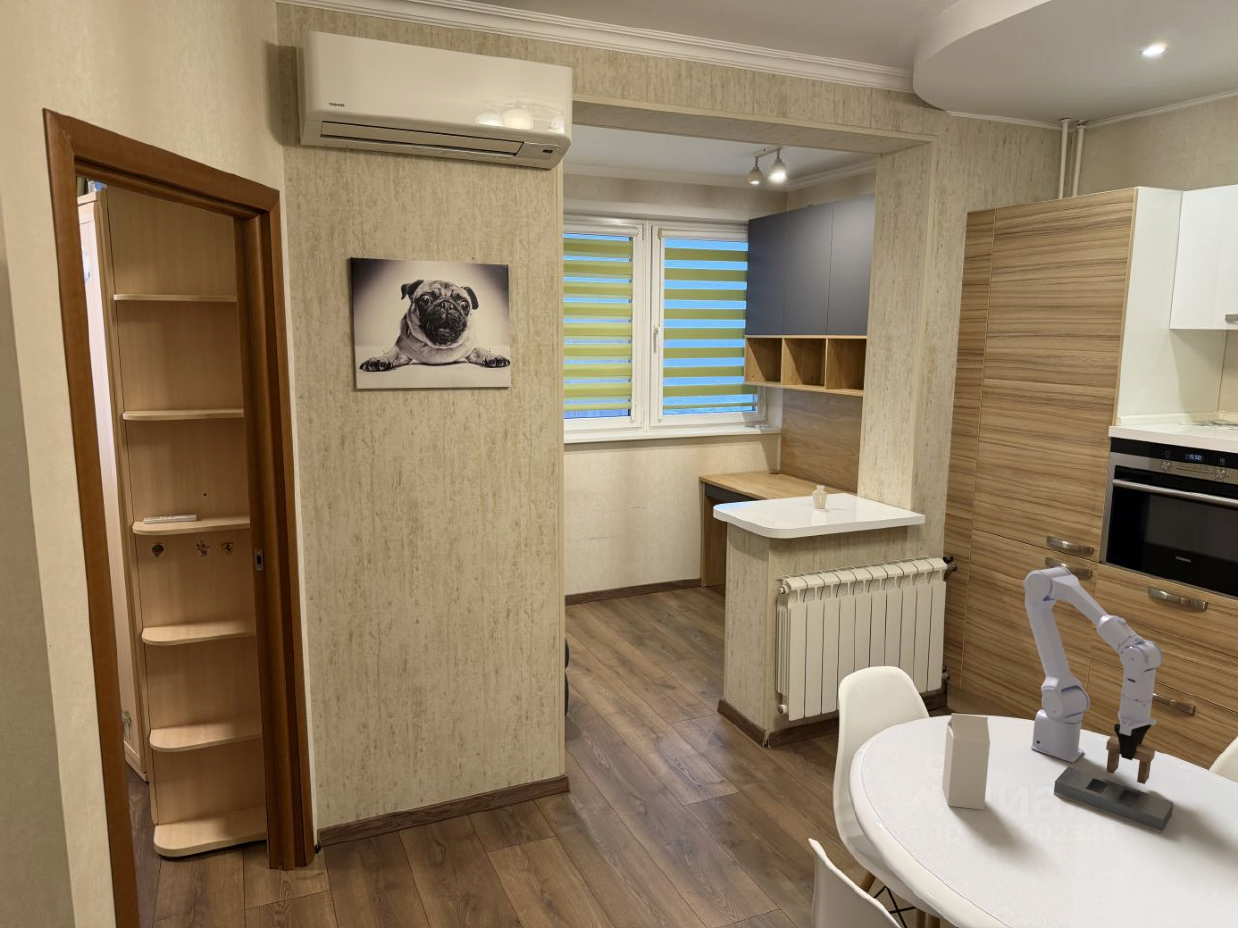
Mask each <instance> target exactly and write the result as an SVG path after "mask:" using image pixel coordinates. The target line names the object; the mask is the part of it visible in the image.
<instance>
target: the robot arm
mask: <svg viewBox="0 0 1238 928" xmlns="http://www.w3.org/2000/svg"><path fill="white" fill-rule="evenodd" d="M1022 585H1023V588H1024V590H1025V596H1024V607H1025V610H1026V614H1027V617H1028V621H1029V625H1030V628H1031V631H1032V635H1033V637H1034V641H1035V645H1036V648H1037V651H1038V656H1039V659H1040V661H1041V662H1040V663H1041V665H1042V667H1043V672H1044V675H1045V676H1044V677H1045V680H1044V681H1043V683H1042V684H1041V687H1040V691H1041V695H1042V697H1041V706H1042V709H1039V710H1038V711H1037V713H1036V715H1035V719H1034V724H1033V725H1034V726H1033V736H1032V745H1031V747H1030V749H1031V750H1033V751H1037V752H1040V753H1043V754H1046V755H1048V756H1051V757H1055V758H1057V759H1060V760H1064V761H1067V762H1070V763H1076V761H1077V760H1078V759H1079V758H1080V757H1081V755H1083V753H1084V751H1085V750H1084V749H1082V748H1079V745H1080V737H1081V730H1082V729H1081V728H1082V719H1083V716H1084V713H1086V712H1087V711H1089V708H1090V707H1091V700H1090V697H1089V695H1088V693H1087V692H1086V690H1085V689H1084V688H1083V684H1082V682H1081V680H1080V679H1078V678H1077V677H1076V676H1075V675H1074V674H1072V672H1071V669H1070V666H1069V662H1068V659H1067V655H1066V653H1065V649H1064V645H1063V642H1062V639H1061V635H1060V633H1059V629H1058V625H1057V622H1056V619H1055V616H1054V613H1053V610H1052V609H1053V607H1054V606H1055V604H1056V603H1057V602H1058V600H1060V601H1066V602H1069V603H1070V604H1071V605H1072V606H1073V607H1075V608H1076V609H1077V610H1078V611H1080V612H1081V614H1083V615H1084V616H1085V617H1087V618H1088V619H1089V620H1090V621H1091V622H1092V623H1093V624H1094V625H1096V634H1098V635H1099V636H1100V637H1101V638H1102V639H1103V640H1104V641H1105V642H1106V644H1108V645H1109V646H1110V648H1112V649H1113V650H1114V651H1115V652H1116V653H1117V654H1118V655H1119V661H1120V663H1121V664H1122V667H1123V672H1122V673H1123V678H1122V687H1121V695H1120V704H1119V710H1118V712H1117V717H1118V719H1119V723H1120V724H1119V723H1118V722H1117V723H1115V724H1114V725H1113V729H1114V733H1115V735H1116V737H1118V740H1119V746H1120V753H1121V754H1120V757H1121V758H1123V759H1125V760H1128V761H1133V760H1134V759H1133V758H1134V755H1135V753H1136V749H1137V746H1138V744H1141V745H1143V741H1144V738H1145V736H1146V734H1147V732H1148V730H1149V729H1150V728H1152V726H1156V725H1157V720H1156V719H1154V718H1151V713H1152V703H1153V697H1154V690H1155V688H1154V687H1155V682H1156V681H1155V680H1156V672H1157V669H1156V668H1157V667H1160V666H1161V665H1162V663H1163V661H1164V654H1163V652H1162V650H1161V648H1160V647H1159V646H1158V644H1157V643H1156V642H1154V641H1151V640H1147V639H1145V638H1143V637H1142V636H1141V635H1139V634H1138V633H1137V632H1135V631H1134V630H1133V628H1131V627H1130V626H1129V625H1128V624H1127V620H1125V618H1123V617H1120V616H1118V615H1110V614H1108V612H1106V610H1105V609H1103V608H1102V606H1101V605H1100V604H1099V603H1098V602H1097V601H1096V600H1095V599H1094V598H1093V597H1092V596H1091V595H1090V594H1089V593H1088V591H1086V589H1085V588H1083V586H1081V584H1080V581H1079V578H1078V577H1077V576H1076V575H1074V574H1073V573H1072V572H1071V571H1070V570H1069V569H1068V568H1066V567H1064V566H1055V567H1053V568H1052V567H1051V568H1046V569H1038V570H1037V569H1035V570H1031V571H1030V572H1028V574H1027V576H1026V577H1025V578H1024V580H1023V581H1022Z"/></svg>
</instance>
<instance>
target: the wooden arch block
mask: <svg viewBox="0 0 1238 928" xmlns="http://www.w3.org/2000/svg"><path fill="white" fill-rule="evenodd" d="M1105 750H1106V751H1107V752H1108V753H1107V760H1106V761H1107V763H1106V769H1105V770H1106V771H1105V772H1107V773H1110V774H1114V773H1115V772H1117V769H1118V768H1119V765H1120V764H1119V763H1120V757H1121V753H1120V746H1119V740H1118V737H1117V736H1115V735H1111V736H1110V737H1109V738H1108V739H1107V741H1106V746H1105ZM1155 753H1156V748H1153V747H1150V746H1147V745H1146V744H1138V746H1137V749H1136V753H1135V755H1134V758H1133V759H1132V760H1137V761H1139V763H1138V771H1137V778H1136V782H1137V783H1139V784H1142V785H1145V784H1146V783H1147V781H1148V780H1149V778H1150V772H1151V763H1152V761H1153V760H1154V758H1155V755H1156V754H1155Z"/></svg>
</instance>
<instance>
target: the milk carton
mask: <svg viewBox="0 0 1238 928" xmlns="http://www.w3.org/2000/svg"><path fill="white" fill-rule="evenodd" d="M950 716H951V718H950V719H949V720H948V722H947V725H946V736H945V746H944V747H945V748H944V759H943V760H944V761H943V771H942V772H943V774H942V785H941V788H942V791H943V795H944V797H945V800H946V804H947V806H950V807H958V808H965V809H972V810H973V809H974V810H985V803H986V802H985V801H986V791H987V780H988V768H989V758H990V757H989V755H990V746H991V740H990V732H989V725H988V723H989V722H988V720H989V719H988V716H982V715H972V714H962V713H954V712H953V713H951V715H950Z"/></svg>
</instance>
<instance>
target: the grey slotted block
mask: <svg viewBox="0 0 1238 928" xmlns="http://www.w3.org/2000/svg"><path fill="white" fill-rule="evenodd" d="M1053 795H1055V796H1058V797H1061V798H1063V799H1066V800H1069V801H1071V802H1074V803H1077V804H1080V805H1083V806H1085V807H1088V808H1091V809H1094V810H1096V811H1099V812H1102V813H1104V814H1107V815H1110V816H1111V817H1112V816H1113V817H1116V818H1118V819H1120V820H1124V821H1126V822H1129V823H1132V824H1134V825H1138V826H1139V827H1143V828H1146V829H1149V830H1152V831H1153V832H1154V831H1155V832H1157V833H1160V834H1163V832H1164V831H1165V828H1166V827H1167V825H1168V824H1169V822H1170V820H1171V818H1172V817H1173V811H1174V809H1173V808H1174V804H1175V802H1174V801H1171V800H1168V799H1166V798H1163V797H1160V796H1156V795H1155V794H1154V795H1153V794H1150V793H1147V792H1144V791H1142V790H1139V789H1136V788H1132V787H1129V786H1126V785H1125V784H1121V783H1119V782H1115V781H1113V780H1111V779H1110V780H1109V779H1107V778H1103V777H1100V776H1098V775H1095V774H1092V773H1090V772H1089V773H1088V772H1085V771H1082V770H1080V769H1077V768H1074V767H1071V766H1067V767H1066V768H1065V769H1064V770H1063V772H1061V774H1060V775H1059V776H1058V777H1057V778H1056V779H1055V781H1054V787H1053Z"/></svg>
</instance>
